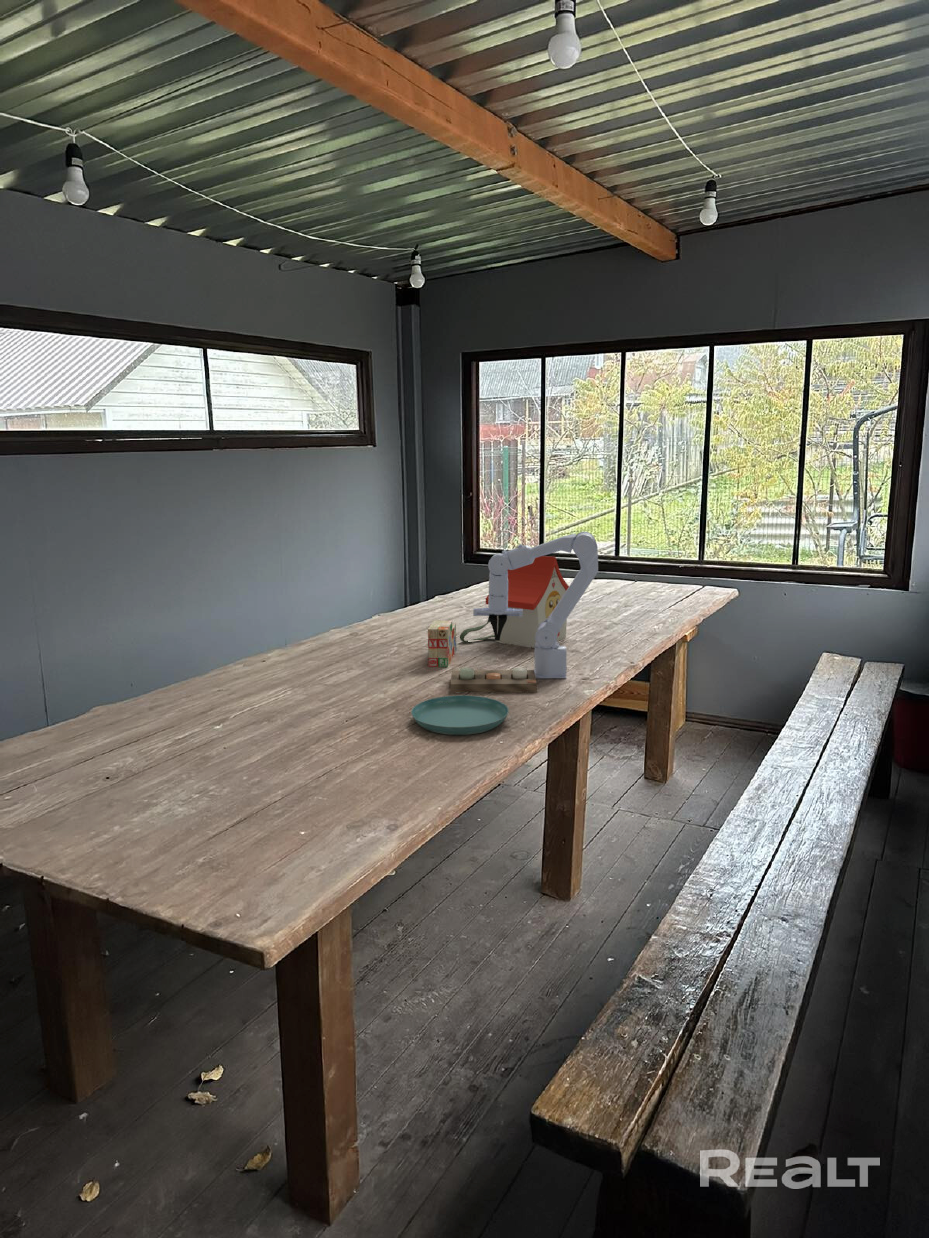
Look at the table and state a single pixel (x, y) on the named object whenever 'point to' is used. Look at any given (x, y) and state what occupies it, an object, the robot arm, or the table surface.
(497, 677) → the terracotta button
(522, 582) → the birdhouse
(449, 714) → the saucer
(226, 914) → the table surface
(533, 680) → the panel
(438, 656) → the stack of blocks
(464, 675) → the sage button
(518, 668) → the cream button
